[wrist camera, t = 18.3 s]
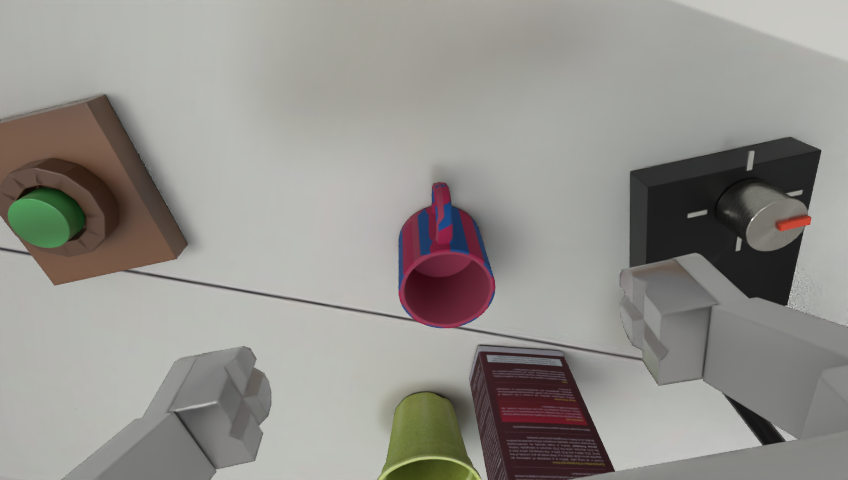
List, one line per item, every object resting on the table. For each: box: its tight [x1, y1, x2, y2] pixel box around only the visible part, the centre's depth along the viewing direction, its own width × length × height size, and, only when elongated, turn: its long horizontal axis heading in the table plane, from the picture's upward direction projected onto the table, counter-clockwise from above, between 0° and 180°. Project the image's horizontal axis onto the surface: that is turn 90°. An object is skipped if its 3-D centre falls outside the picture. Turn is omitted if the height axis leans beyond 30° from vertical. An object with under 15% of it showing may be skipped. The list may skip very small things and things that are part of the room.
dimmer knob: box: [716, 179, 811, 251], centre depth 33 cm, size 4×4×4 cm
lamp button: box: [8, 188, 85, 248], centre depth 31 cm, size 4×4×2 cm
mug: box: [399, 182, 495, 328], centre depth 34 cm, size 7×10×7 cm
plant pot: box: [377, 392, 481, 480], centre depth 44 cm, size 9×9×9 cm
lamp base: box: [630, 137, 821, 306], centre depth 37 cm, size 15×12×3 cm
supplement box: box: [469, 346, 615, 480], centre depth 39 cm, size 9×5×16 cm, turn 82°
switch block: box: [0, 95, 187, 285], centre depth 33 cm, size 12×10×4 cm
